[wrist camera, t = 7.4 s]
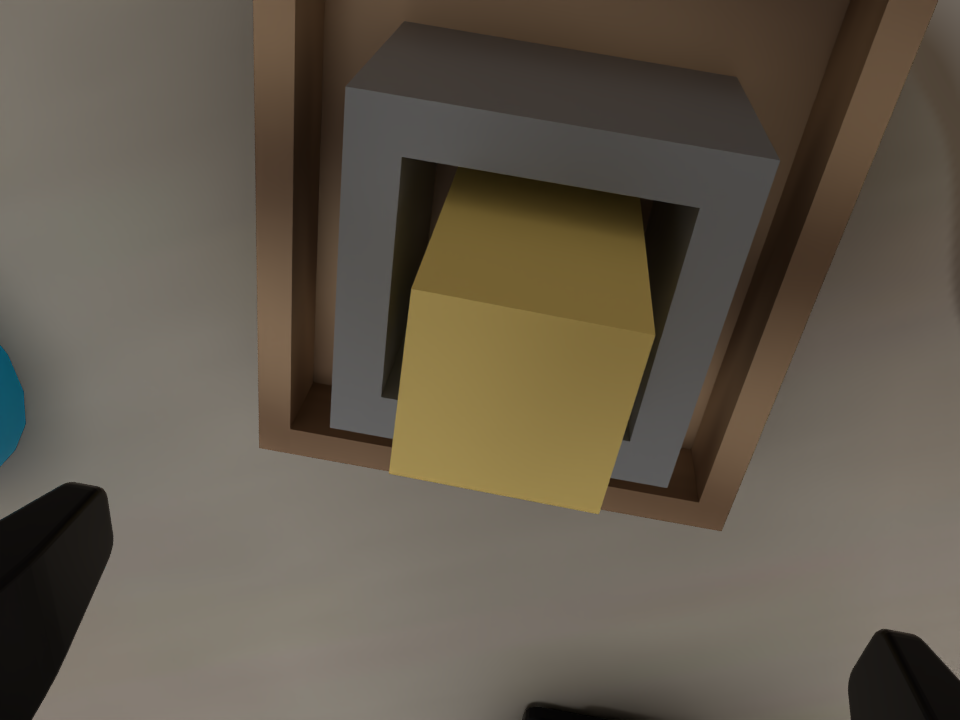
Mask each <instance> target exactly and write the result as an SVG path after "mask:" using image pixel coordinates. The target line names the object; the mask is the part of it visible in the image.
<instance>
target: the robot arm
mask: <svg viewBox="0 0 960 720" xmlns="http://www.w3.org/2000/svg"><path fill="white" fill-rule="evenodd" d="M112 547H113V530H112V524H111V517H110V511H109V504H108V498H107V494H106V492H105V491H104V489H103V488H100V487H98V486H93V485H87V484H82V483H76V482H68V483H65V484H63V485H61V486H59V487H57V488H55V489H53V490H52V491H50V492H48V493H46V494H45V495H43V496H41V497H40V498H38V499H36V500H34V501H33V502H31V503H29V504H27V505H26V506H24V507H22V508H20V509H19V510H17V511H15V512H13V513H12V514H10V515H8V516H6V517H5V518H3V519H1V520H0V720H32V719H33V717H34V715H35V713H36V712H37V710H38V708H39V707H40V705H41V703H42V701H43V700H44V698H45V696H46V694H47V693H48V691H49V689H50V687H51V685H52V683H53V681H54V680H55V678H56V676H57V674H58V672H59V670H60V668H61V665H62V663H63V661H64V659H65V657H66V655H67V653H68V650H69V648H70V646H71V644H72V641H73V639H74V637H75V634H76V632H77V630H78V628H79V625H80V623H81V621H82V619H83V616H84V614H85V612H86V609H87V607H88V605H89V603H90V600H91V598H92V596H93V594H94V591H95V589H96V587H97V585H98V582H99V580H100V578H101V575H102V573H103V571H104V569H105V566H106V564H107V562H108V560H109V557H110V554H111V551H112ZM848 695H849V705H850V715H851V720H960V680H959V679H958V678H957V677H956V676H955V675H954V674H953V672H952V671H951V670H950V669H949V668H948V667H947V666H946V665H945V664H944V663H943V662H942V660H941V659H940V658H939V657H938V656H937V655H936V654H935V653H934V652H933V651H932V650H931V648H930V647H929V646H928V645H927V644H926V643H925V642H924V641H923V640H922V639H921V638H919V637H918V636H916V635H914V634H910V633H905V632H899V631H893V630H888V629H881V630H879V631H878V632H876V633H875V634H874V635H873V637H872V638H871V640H870V642H869V643H868V645H867V647H866V648H865V650H864V651H863V653H862V655H861V656H860V658H859V660H858V661H857V663H856V665H855V666H854V668H853V670H852V672H851V674H850V678H849V683H848ZM522 720H606V719H601V718H595V717H590V716H585V715H579V714H574V713H569V712H563V711H558V710H552V709H547V708H542V707H531V708H528V709H527V710H526V711H525V712H524V714H523V718H522Z"/></svg>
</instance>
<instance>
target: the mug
mask: <svg viewBox="0 0 960 720" xmlns="http://www.w3.org/2000/svg"><path fill="white" fill-rule="evenodd" d="M25 424H26V421H25V406H24V391H23V389H22V386H21V384H20V382H19V380H18V377H17V375H16V373H15V370H14V368H13V366H12V363H11V361H10V359H9V356H8V354H7V353H6V352H5V350H4V349H3V348H2V347H1V345H0V466H1V465H2V464H3V463H4V462H5V461H6V460H7V458H8V457H9V456H10V455H11V454H12V453H13V452H14V451H15V449H16V447H17V444H18V442H19V439H20V437H21V434H22V432H23V429H24V427H25Z"/></svg>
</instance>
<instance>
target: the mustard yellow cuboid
mask: <svg viewBox="0 0 960 720" xmlns="http://www.w3.org/2000/svg"><path fill="white" fill-rule="evenodd" d="M654 338H655V327H654V318H653V309H652V300H651V291H650V282H649V273H648V264H647V256H646V247H645V238H644V229H643V220H642V211H641V202H640V198H639V197H633V196H627V195H621V194H615V193H610V192H604V191H598V190H592V189H586V188H580V187H575V186H569V185H563V184H557V183H551V182H546V181H540V180H534V179H528V178H522V177H516V176H511V175H505V174H499V173H493V172H487V171H482V170H476V169H470V168H464V167H458V169H457V171H456V174H455V176H454V179H453V182H452V184H451V187H450V189H449V192H448V195H447V197H446V200H445V202H444V205H443V208H442V210H441V213H440V215H439V218H438V221H437V223H436V226H435V228H434V231H433V234H432V236H431V239H430V241H429V244H428V247H427V249H426V252H425V254H424V257H423V259H422V262H421V265H420V267H419V270H418V272H417V275H416V278H415V280H414V283H413V285H412V288H411V295H410V303H409V311H408V320H407V328H406V336H405V344H404V353H403V361H402V369H401V377H400V386H399V394H398V402H397V410H396V419H395V427H394V435H393V444H392V452H391V460H390V468H389V474H393V475H399V476H404V477H409V478H414V479H419V480H425V481H430V482H435V483H440V484H445V485H450V486H456V487H461V488H466V489H471V490H476V491H481V492H487V493H492V494H497V495H502V496H507V497H512V498H518V499H523V500H528V501H533V502H538V503H544V504H549V505H554V506H559V507H564V508H569V509H575V510H580V511H585V512H590V513H595V514H599V512H600V509H601V506H602V503H603V500H604V496H605V493H606V490H607V487H608V484H609V481H610V477H611V474H612V471H613V468H614V465H615V462H616V458H617V455H618V452H619V449H620V446H621V443H622V439H623V436H624V433H625V430H626V427H627V424H628V420H629V417H630V414H631V411H632V408H633V405H634V401H635V398H636V395H637V392H638V389H639V386H640V382H641V379H642V376H643V373H644V370H645V367H646V363H647V360H648V357H649V354H650V351H651V348H652V344H653V341H654Z"/></svg>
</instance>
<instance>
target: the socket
mask: <svg viewBox="0 0 960 720" xmlns="http://www.w3.org/2000/svg"><path fill="white" fill-rule="evenodd" d="M437 163H441V164H447V165H452V166H458V167H464V168H470V169H476V170H482V171H487V172H493V173H499V174H505V175H511V176H516V177H522V178H528V179H534V180H540V181H546V182H551V183H557V184H563V185H569V186H575V187H580V188H586V189H592V190H598V191H604V192H610V193H615V194H621V195H627V196H633V197H639V198H644V199H650V200H654V202H653V206H652V210H651V213H650V217H649V221H648V225H647V228H646V232H645V236H644V238H645V247H646V256H647V264H648V273H649V282H650V291H651V300H652V309H653V318H654V327H655V338H654V341H653V344H652V348H651V351H650V354H649V357H648V360H647V363H646V367H645V370H644V373H643V376H642V379H641V382H640V386H639V389H638V392H637V395H636V398H635V401H634V405H633V408H632V411H631V414H630V417H629V420H628V424H627V427H626V430H625V433H624V436H623V439H622V443H621V446H620V449H619V452H618V455H617V458H616V462H615V465H614V468H613V471H612V474H611V477H610V478H614V479H619V480H625V481H630V482H636V483H642V484H647V485H653V486H658V487H664V488H667V487H668V484H669V481H670V479H671V476H672V473H673V470H674V467H675V464H676V461H677V458H678V455H679V453H680V450H681V447H682V444H683V441H684V438H685V435H686V432H687V429H688V426H689V424H690V421H691V418H692V415H693V412H694V409H695V406H696V403H697V400H698V397H699V395H700V392H701V389H702V386H703V383H704V380H705V377H706V374H707V371H708V369H709V366H710V363H711V360H712V357H713V354H714V351H715V348H716V345H717V342H718V340H719V337H720V334H721V331H722V328H723V325H724V322H725V319H726V316H727V313H728V311H729V308H730V305H731V302H732V299H733V296H734V293H735V290H736V287H737V285H738V282H739V279H740V276H741V273H742V270H743V267H744V264H745V261H746V258H747V256H748V253H749V250H750V247H751V244H752V241H753V238H754V235H755V232H756V229H757V227H758V224H759V221H760V218H761V215H762V212H763V209H764V206H765V203H766V201H767V198H768V195H769V192H770V189H771V186H772V183H773V180H774V177H775V174H776V172H777V169H778V166H779V163H780V159H779V157H778V155H777V153H776V151H775V149H774V147H773V146H772V144H771V142H770V140H769V138H768V136H767V134H766V132H765V130H764V128H763V126H762V124H761V123H760V121H759V119H758V117H757V115H756V113H755V111H754V109H753V107H752V105H751V103H750V101H749V100H748V98H747V96H746V94H745V92H744V90H743V88H742V86H741V84H740V82H739V80H738V78H737V77H734V76H728V75H722V74H716V73H710V72H704V71H698V70H692V69H686V68H680V67H674V66H669V65H663V64H657V63H651V62H645V61H639V60H633V59H627V58H621V57H615V56H609V55H603V54H597V53H591V52H585V51H579V50H573V49H568V48H562V47H556V46H550V45H544V44H538V43H532V42H526V41H520V40H514V39H508V38H502V37H496V36H490V35H484V34H478V33H472V32H467V31H461V30H455V29H449V28H443V27H437V26H431V25H425V24H419V23H413V22H407V21H404V22H403V23H402V24H401V25H400V27H399V28H398V29H397V30H396V31H395V32H394V33H393V34H392V35H391V36H390V38H389V39H388V40H387V41H386V42H385V43H384V44H383V45H382V46H381V48H380V49H379V50H378V51H377V52H376V53H375V54H374V55H373V56H372V58H371V59H370V60H369V61H368V62H367V63H366V64H365V65H364V66H363V68H362V69H361V70H360V71H359V72H358V73H357V74H356V75H355V76H354V77H353V79H352V80H351V81H350V82H349V83H348V84H347V85H346V86H345V107H344V129H343V151H342V173H341V195H340V217H339V239H338V261H337V283H336V305H335V327H334V349H333V371H332V393H331V415H330V428H335V429H340V430H346V431H352V432H357V433H363V434H368V435H374V436H379V437H385V438H391V439H393V435H394V427H395V419H396V410H397V402H398V394H399V386H400V377H401V369H402V361H403V353H404V344H405V336H406V328H407V320H408V311H409V303H410V295H411V288H412V285H413V283H414V280H415V278H416V275H417V272H418V270H419V267H420V265H421V262H422V259H423V257H424V254H425V252H426V249H427V247H428V238H429V229H430V220H431V211H432V201H433V192H434V183H435V174H436V165H437Z"/></svg>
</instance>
